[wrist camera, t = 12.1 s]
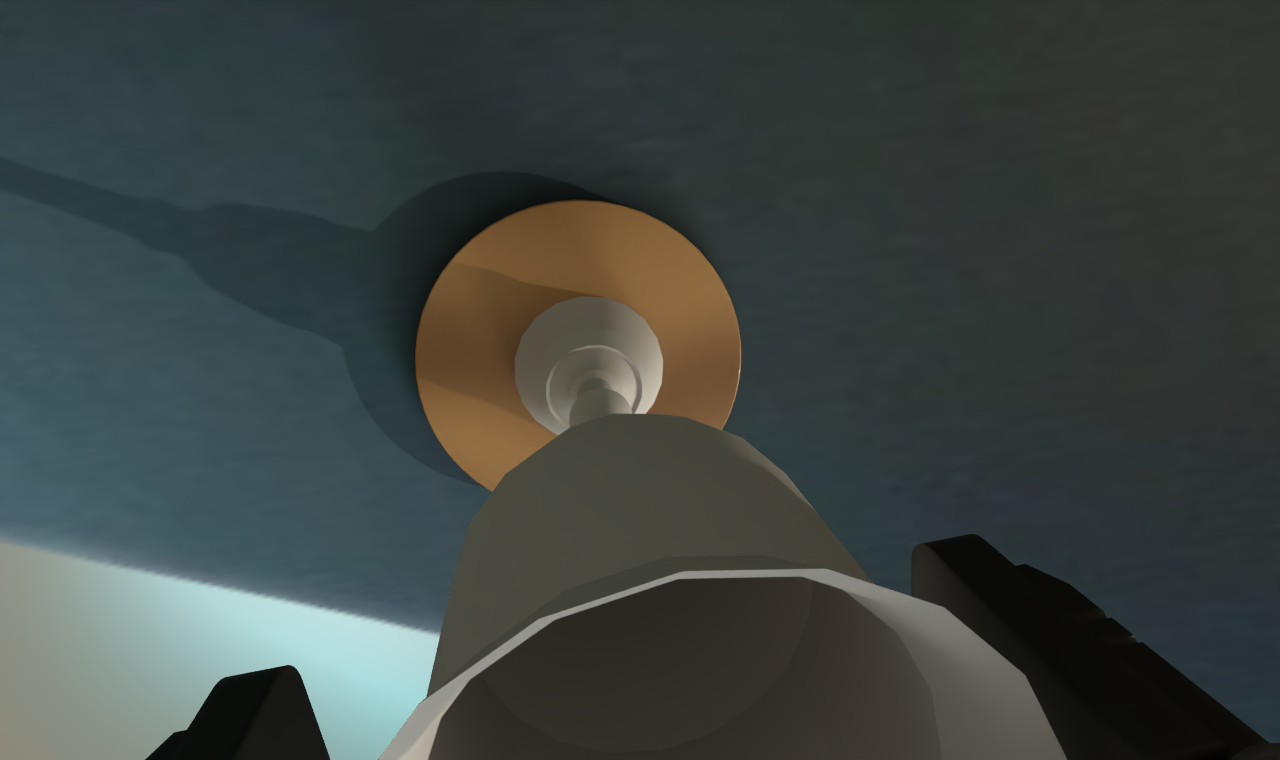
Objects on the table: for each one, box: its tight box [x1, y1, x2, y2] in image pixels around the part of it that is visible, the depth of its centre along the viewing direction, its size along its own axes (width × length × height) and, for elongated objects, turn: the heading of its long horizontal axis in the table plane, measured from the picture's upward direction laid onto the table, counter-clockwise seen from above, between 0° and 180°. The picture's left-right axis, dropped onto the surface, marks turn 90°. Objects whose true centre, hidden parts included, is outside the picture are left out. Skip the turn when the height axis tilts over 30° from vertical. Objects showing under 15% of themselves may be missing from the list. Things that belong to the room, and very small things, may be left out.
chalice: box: [378, 296, 1067, 760], centre depth 15 cm, size 7×7×18 cm
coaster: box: [415, 199, 741, 492], centre depth 23 cm, size 11×11×1 cm
